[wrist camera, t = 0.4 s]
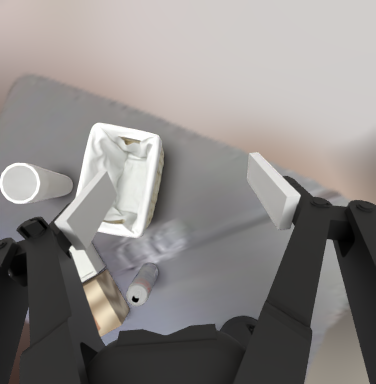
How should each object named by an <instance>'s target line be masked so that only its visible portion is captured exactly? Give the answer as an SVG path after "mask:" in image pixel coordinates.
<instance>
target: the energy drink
mask: <svg viewBox="0 0 376 384" xmlns="http://www.w3.org/2000/svg"><path fill="white" fill-rule="evenodd" d="M157 275H158V269H157V267H156V266H155V265H154V264H152V263H147V264H145V265H143V266H142V268H141V269H140V271H139V272H138V274H137V275H136V277H135V278H134V280H133V281H132V283H131V284H130V286H129V288H128V290H127V294H126V297H127V300H128V302H129V303H130V304H131V305H133V306H141V305H143V304H144V303H145V302H146V301H147V300H148V298H149V295H150V293H151V290H152V288H153V285H154V283H155V280H156V278H157Z"/></svg>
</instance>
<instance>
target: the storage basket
mask: <svg viewBox="0 0 376 384" xmlns="http://www.w3.org/2000/svg"><path fill="white" fill-rule="evenodd" d="M120 136H121V137H120ZM122 137H127V138H131V139H126V138H122ZM132 139H136V140H132ZM137 140H140V141H137ZM163 159H164V151H163V148H162V141H161V139H160V137H159V135H156V134H153V133H149V132H145V131H140V130H136V129H130V128H125V127H121V126H116V125H111V124H104V123H96V124H95V125H94V126H93V127H92V129H91V132H90V135H89V139H88V143H87V147H86V151H85V155H84V160H83V166H82V170H81V175H80V180H79V184H78V189H77V193H76V197H77V196H78V195H79V194H80V193H81V191H82V190H83V189H84V188H85V187H86V186H87V185H88V184H89V182H90V181H91V180H92V179H93V178H94V177H95V176H96V175H97V173H98V172H101V171H107V172H108V174H109V177H110V179H111V181H112V183H113V186H114V188H115V190H116V193H117V196H116V198H115V200H114V202H113V204H112V205H111V207H110V209H109V211H108V213H107V214H106V216H105V218H104V220H103V222H102V223H101V225H100V227H99V229H98V230H97V231H98V232H103V233H108V234H113V235H119V236H125V237H133V238H140V237H142V236H143V234H144V231H145V229H146V228H147V227H148V226H149V224H150V223H151V219H152V217H153V212H154V209H155V203H156V201H157V195H158V192H159V187H160V186H159V185H160V182H161V174H162V168H163V165H164V160H163ZM106 222H108V223H106ZM109 223H113V224H109Z"/></svg>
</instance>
